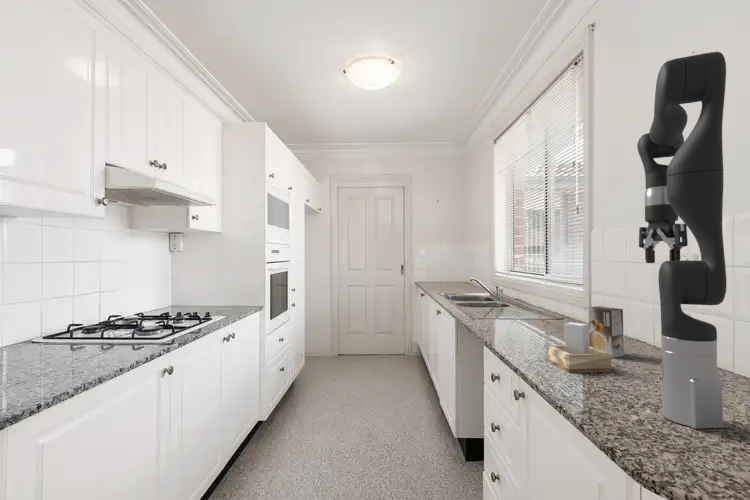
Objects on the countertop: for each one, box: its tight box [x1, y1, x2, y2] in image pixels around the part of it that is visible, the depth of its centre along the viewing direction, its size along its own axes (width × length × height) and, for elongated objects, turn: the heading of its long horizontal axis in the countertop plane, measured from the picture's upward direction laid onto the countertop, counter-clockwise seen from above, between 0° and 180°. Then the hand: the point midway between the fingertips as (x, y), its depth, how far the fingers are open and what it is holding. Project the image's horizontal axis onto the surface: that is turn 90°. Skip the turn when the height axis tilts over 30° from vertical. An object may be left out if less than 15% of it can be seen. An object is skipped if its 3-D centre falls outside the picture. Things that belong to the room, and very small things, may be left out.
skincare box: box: [563, 321, 590, 354], centre depth 125 cm, size 6×4×12 cm
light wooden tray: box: [546, 344, 612, 373], centre depth 125 cm, size 13×13×5 cm
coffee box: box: [587, 305, 625, 359], centre depth 140 cm, size 9×6×16 cm
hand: (661, 263), depth 111 cm, fingers open, 8 cm apart
